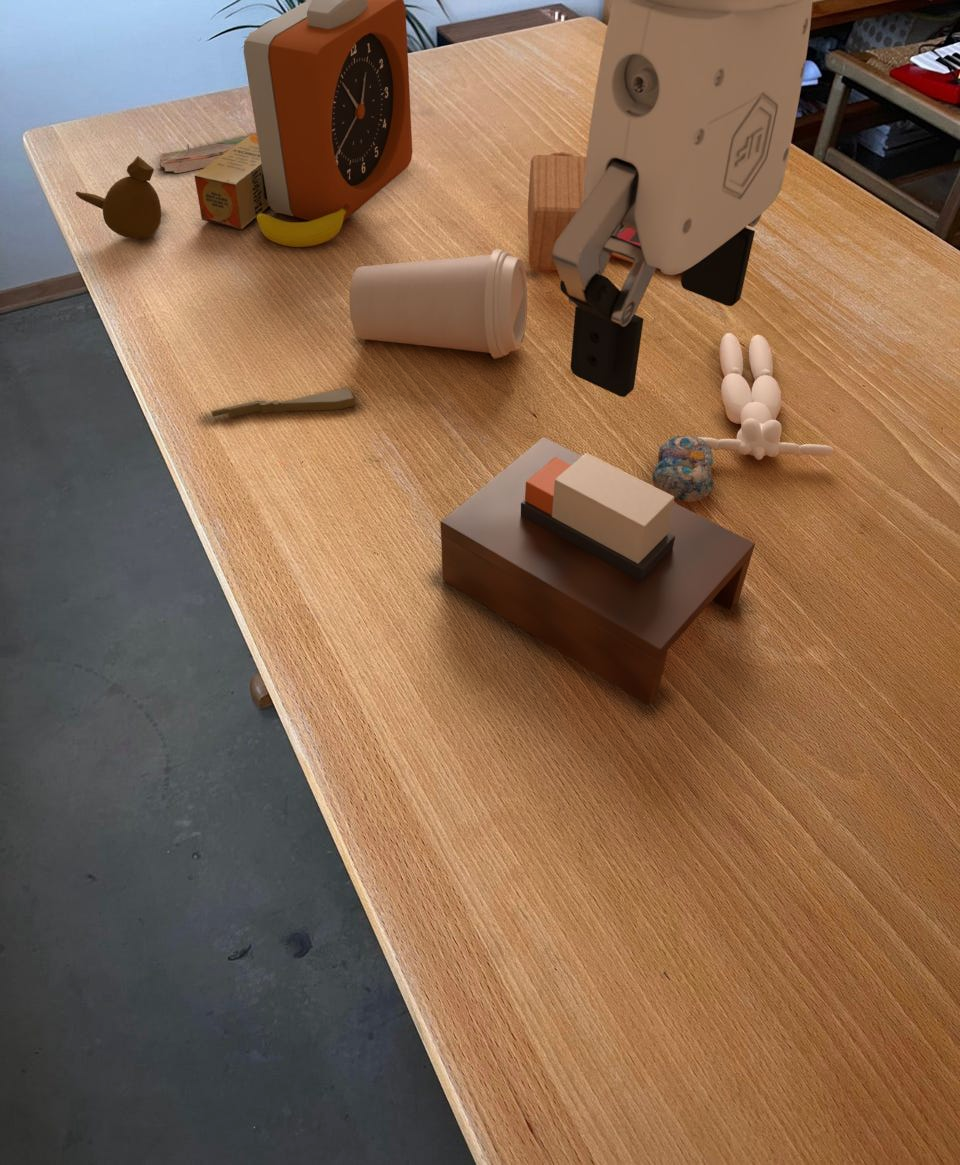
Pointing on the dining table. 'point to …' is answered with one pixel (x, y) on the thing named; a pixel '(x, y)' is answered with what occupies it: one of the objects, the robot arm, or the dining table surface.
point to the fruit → (302, 229)
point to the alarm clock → (330, 103)
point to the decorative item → (552, 202)
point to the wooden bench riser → (588, 579)
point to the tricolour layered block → (602, 512)
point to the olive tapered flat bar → (294, 404)
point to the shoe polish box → (233, 186)
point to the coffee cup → (443, 303)
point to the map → (195, 156)
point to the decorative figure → (754, 404)
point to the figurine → (130, 203)
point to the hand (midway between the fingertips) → (658, 337)
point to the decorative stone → (684, 468)
